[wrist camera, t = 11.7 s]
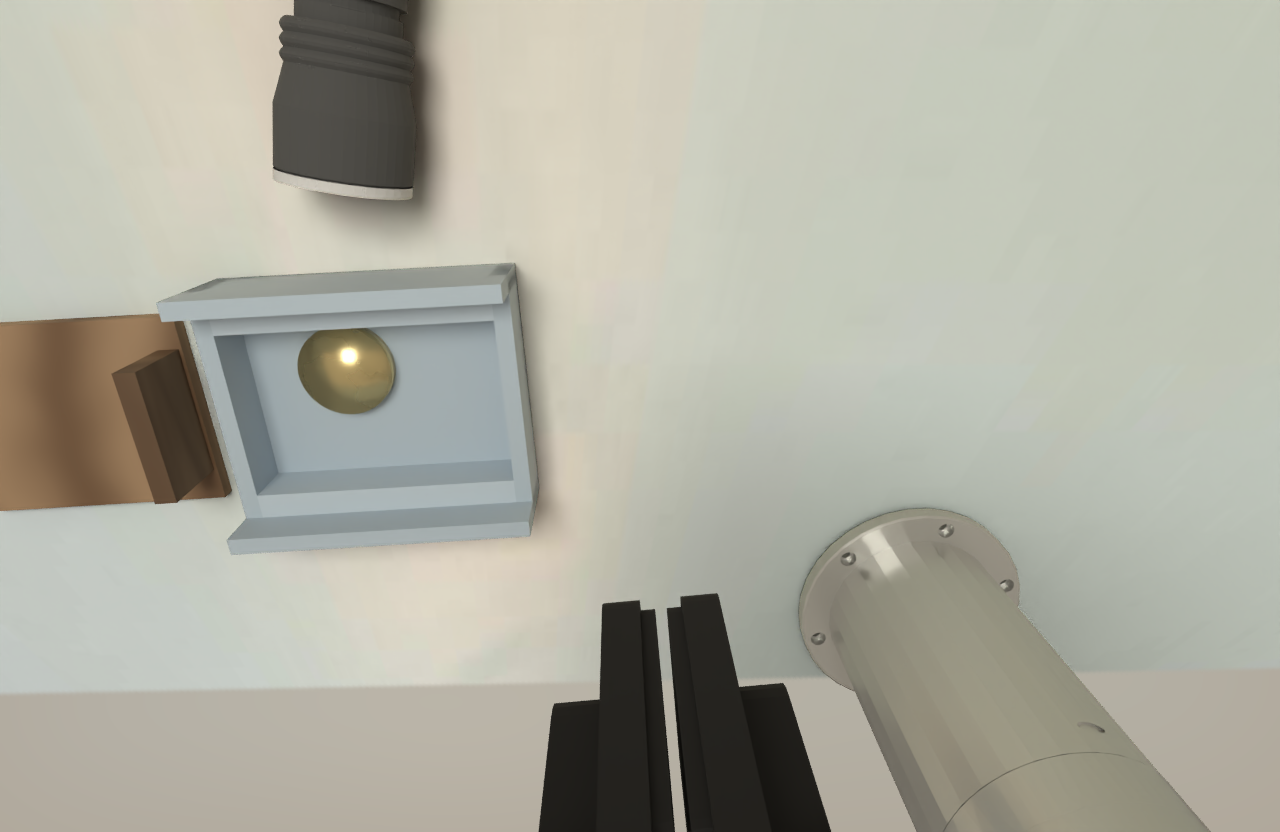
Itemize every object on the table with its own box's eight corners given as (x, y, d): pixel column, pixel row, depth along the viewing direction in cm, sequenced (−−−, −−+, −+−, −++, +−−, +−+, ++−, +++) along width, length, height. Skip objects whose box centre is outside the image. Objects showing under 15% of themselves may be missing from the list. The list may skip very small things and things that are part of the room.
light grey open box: (514, 262, 35) (500, 284, 30) (539, 487, 39) (530, 536, 34) (216, 278, 34) (155, 302, 30) (275, 503, 39) (230, 554, 34)
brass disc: (387, 320, 35) (382, 324, 34) (402, 405, 36) (398, 411, 36) (294, 325, 35) (287, 329, 34) (314, 410, 36) (308, 416, 36)
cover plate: (185, 310, 35) (126, 336, 31) (236, 486, 39) (189, 532, 34) (-63, 324, 35) (-158, 352, 31) (11, 500, 39) (-65, 548, 34)
